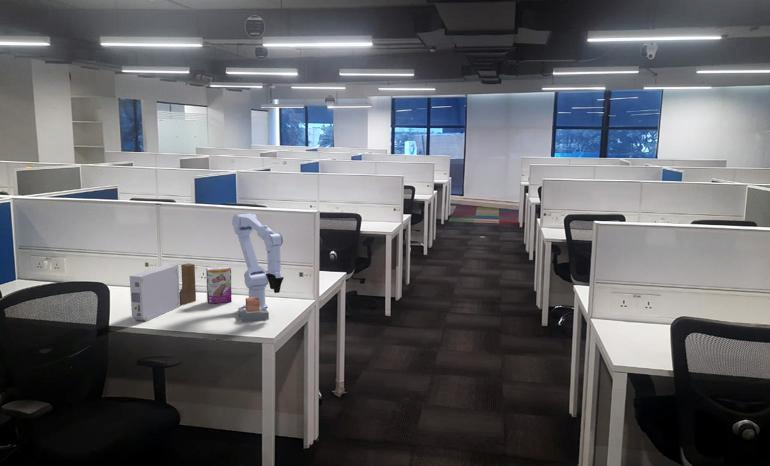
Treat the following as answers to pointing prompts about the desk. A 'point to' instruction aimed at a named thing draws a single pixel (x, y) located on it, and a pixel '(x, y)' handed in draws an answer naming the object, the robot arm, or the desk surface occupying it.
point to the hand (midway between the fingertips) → (274, 290)
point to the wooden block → (188, 284)
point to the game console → (154, 292)
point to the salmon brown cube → (252, 304)
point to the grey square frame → (253, 314)
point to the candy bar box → (218, 285)
